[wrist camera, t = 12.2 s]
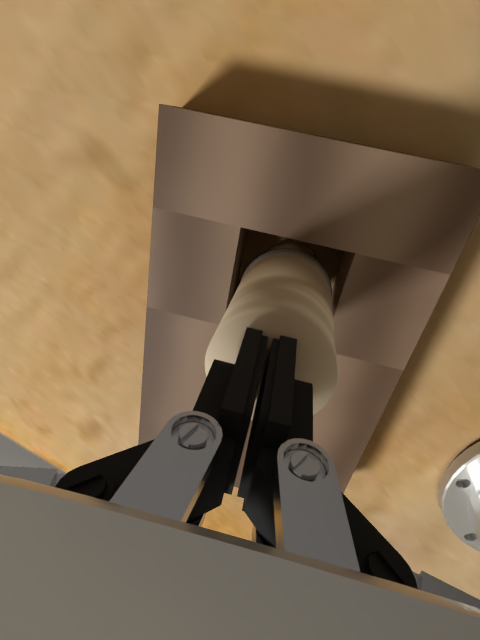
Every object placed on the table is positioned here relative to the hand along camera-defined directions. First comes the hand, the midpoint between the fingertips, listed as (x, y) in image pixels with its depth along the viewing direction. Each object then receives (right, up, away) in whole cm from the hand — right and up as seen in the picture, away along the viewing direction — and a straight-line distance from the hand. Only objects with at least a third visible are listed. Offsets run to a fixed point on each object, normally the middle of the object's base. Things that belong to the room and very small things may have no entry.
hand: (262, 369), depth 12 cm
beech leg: (+2, +4, +9) cm, 10 cm away
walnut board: (+1, +1, +11) cm, 11 cm away
